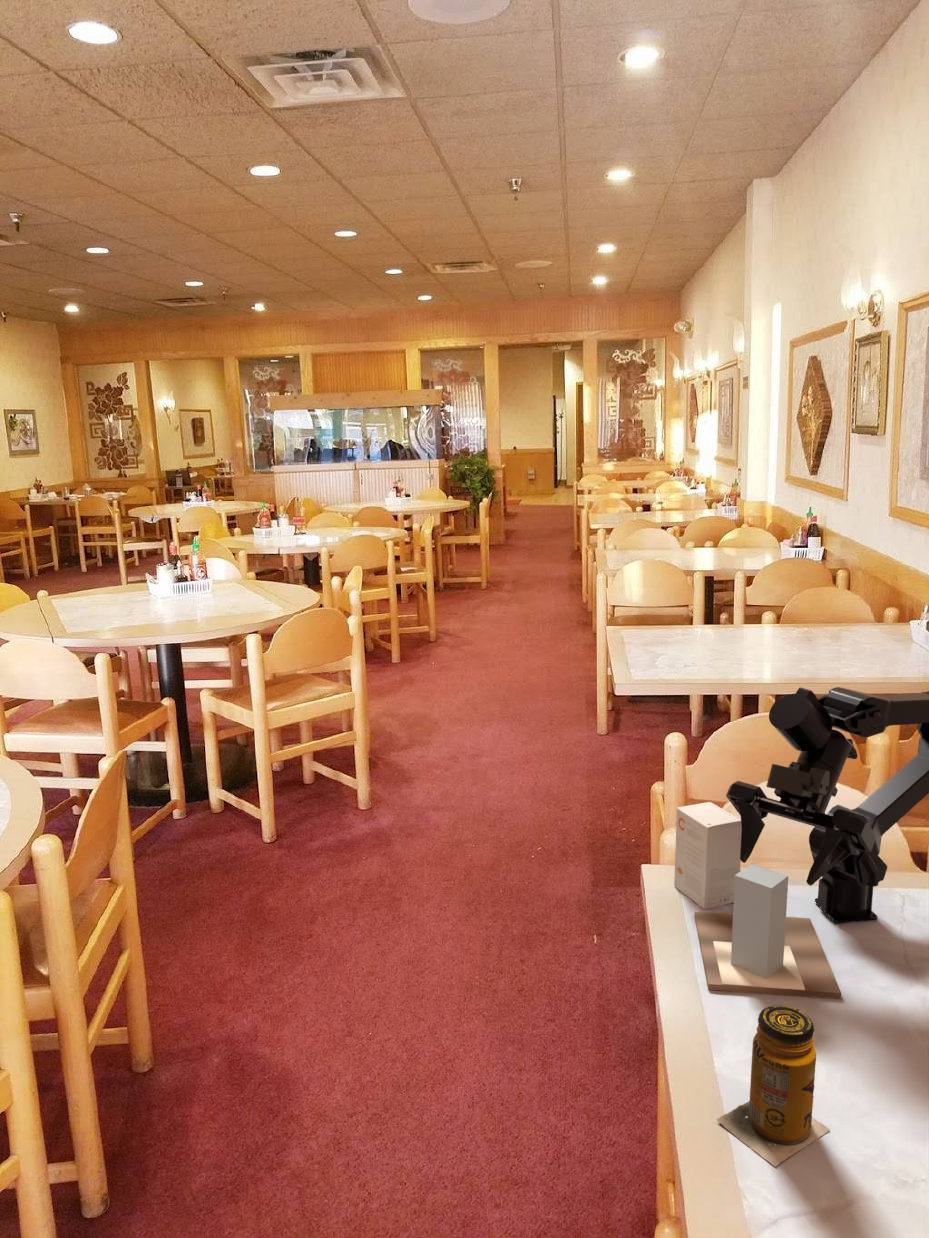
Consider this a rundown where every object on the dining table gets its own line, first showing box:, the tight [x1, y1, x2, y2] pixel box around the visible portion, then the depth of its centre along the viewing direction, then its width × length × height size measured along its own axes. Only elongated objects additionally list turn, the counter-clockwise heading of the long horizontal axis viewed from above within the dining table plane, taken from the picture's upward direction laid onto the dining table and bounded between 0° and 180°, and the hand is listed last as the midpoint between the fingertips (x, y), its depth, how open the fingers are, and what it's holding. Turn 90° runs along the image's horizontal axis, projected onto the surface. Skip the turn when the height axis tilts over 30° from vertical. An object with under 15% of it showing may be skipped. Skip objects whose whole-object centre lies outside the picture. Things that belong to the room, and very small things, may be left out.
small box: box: [673, 801, 742, 910], centre depth 140 cm, size 8×6×13 cm
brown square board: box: [694, 911, 842, 1000], centre depth 125 cm, size 18×16×1 cm
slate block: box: [731, 863, 789, 979], centre depth 120 cm, size 4×5×12 cm
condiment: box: [716, 1004, 831, 1167], centre depth 93 cm, size 7×8×12 cm
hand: (774, 872), depth 121 cm, fingers open, 9 cm apart
